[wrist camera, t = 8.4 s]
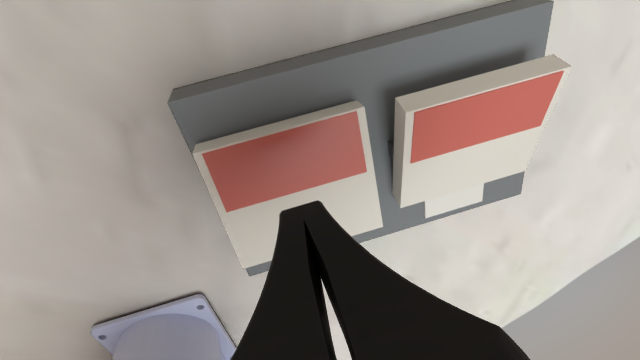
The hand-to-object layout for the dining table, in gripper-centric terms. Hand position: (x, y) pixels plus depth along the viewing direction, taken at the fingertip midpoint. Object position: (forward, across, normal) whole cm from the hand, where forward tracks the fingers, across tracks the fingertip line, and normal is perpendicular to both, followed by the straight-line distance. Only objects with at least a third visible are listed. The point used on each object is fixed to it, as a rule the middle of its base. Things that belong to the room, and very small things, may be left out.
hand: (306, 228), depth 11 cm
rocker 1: (+6, 0, +2) cm, 6 cm away
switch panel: (+9, -5, +3) cm, 11 cm away
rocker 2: (+6, -10, +2) cm, 12 cm away
